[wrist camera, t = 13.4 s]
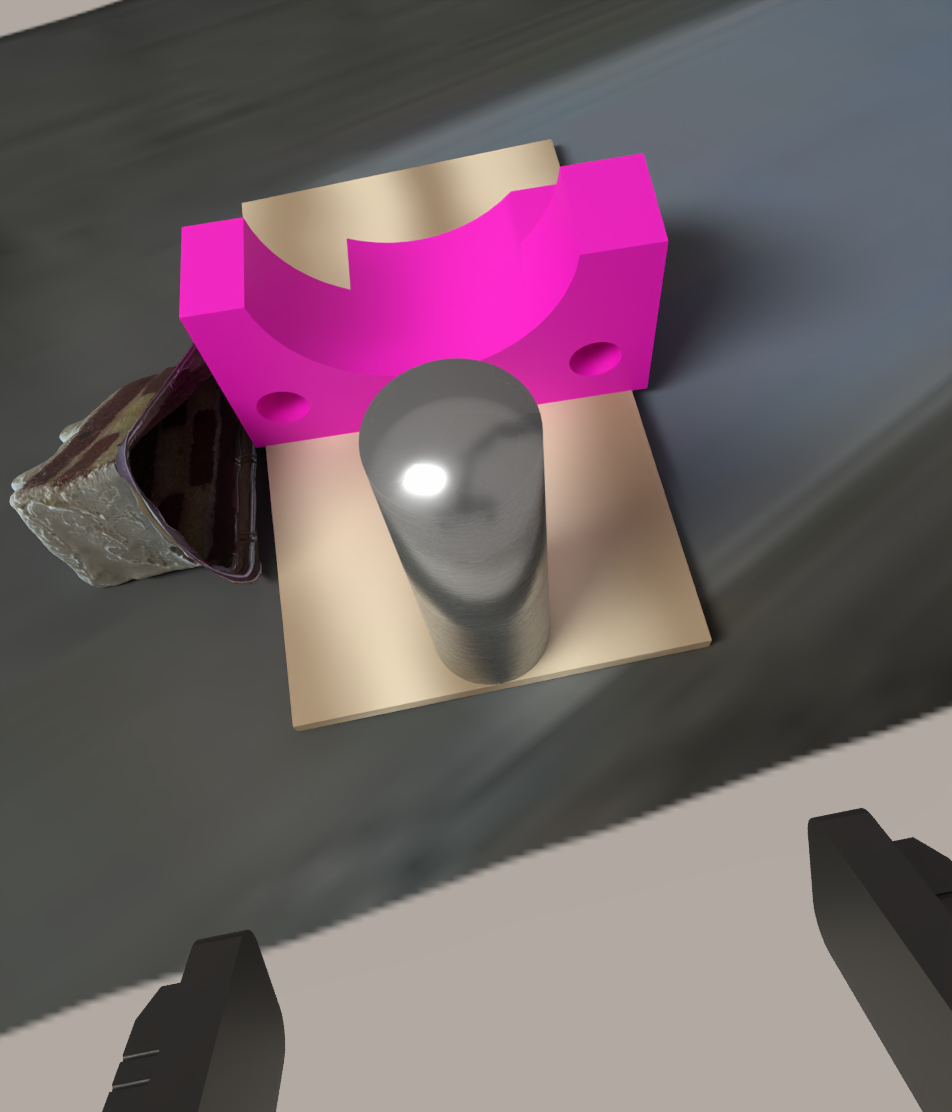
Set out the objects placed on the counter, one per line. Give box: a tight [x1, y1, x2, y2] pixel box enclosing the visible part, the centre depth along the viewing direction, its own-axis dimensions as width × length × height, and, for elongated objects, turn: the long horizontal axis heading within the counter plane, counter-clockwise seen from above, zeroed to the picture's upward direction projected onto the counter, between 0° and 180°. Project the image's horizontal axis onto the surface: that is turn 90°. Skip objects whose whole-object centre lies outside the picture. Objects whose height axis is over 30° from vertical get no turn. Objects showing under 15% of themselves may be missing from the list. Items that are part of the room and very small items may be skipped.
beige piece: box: [242, 139, 712, 731], centre depth 29 cm, size 14×24×13 cm, turn 11°
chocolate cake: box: [10, 343, 262, 588], centre depth 33 cm, size 10×7×12 cm
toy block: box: [179, 153, 668, 448], centre depth 32 cm, size 15×6×8 cm, turn 97°
